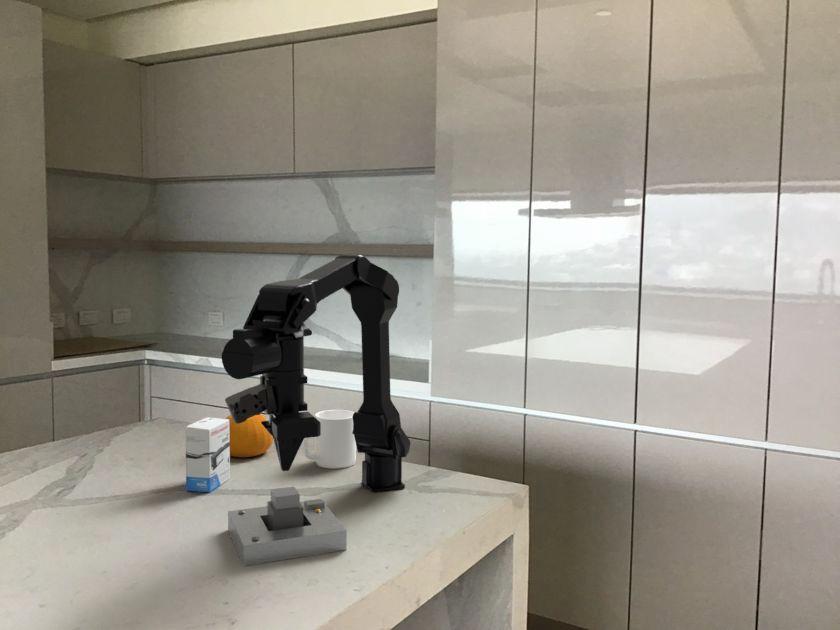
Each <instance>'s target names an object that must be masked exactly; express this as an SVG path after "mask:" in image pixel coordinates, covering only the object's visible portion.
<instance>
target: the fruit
mask: <svg viewBox="0 0 840 630" xmlns="http://www.w3.org/2000/svg"><path fill="white" fill-rule="evenodd" d="M225 419H229V441H230V442H229V443H230V457H235V458H251V457H256V456H257V457H258V456H260V455H261V454H264V453H266V452H267V451H268V450H269V449H270V448H271V447H272V445H273V442H274V439H273V436H272V435H271V434H270V433H269V432H268V431H267V430H266V428H265V427H264V426H263V425H262V424H261V422H262V421H266V416H264V415H263V414H262V413H260V415H255V416H252V417H250V418H248V419H247V420H246V421H244V422H242V423H235V421H234V419H232V416H231V414H230V415H228V416H227V417H226V418H225Z"/></svg>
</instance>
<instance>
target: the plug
mask: <svg viewBox="0 0 840 630" xmlns="http://www.w3.org/2000/svg"><path fill="white" fill-rule="evenodd" d="M300 496H301V495H300V493H299V492H298V490H297V489H296V487H295V486H289V487H278V488H271V489H270V500H268V501H267V502H266V504H267V515H268V531H274V530H281V529H288V528H295V527H302V526H303V506H302V505H301V504H300V502H301V499H300V498H301V497H300Z"/></svg>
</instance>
